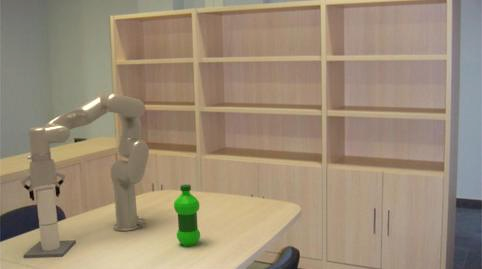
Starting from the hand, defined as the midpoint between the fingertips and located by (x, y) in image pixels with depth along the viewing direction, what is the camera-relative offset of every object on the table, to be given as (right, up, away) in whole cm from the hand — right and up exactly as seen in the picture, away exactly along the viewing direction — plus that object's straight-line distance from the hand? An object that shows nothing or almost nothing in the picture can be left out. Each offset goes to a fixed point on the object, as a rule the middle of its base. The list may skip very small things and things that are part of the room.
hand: (45, 198), depth 220 cm
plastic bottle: (+59, -20, +3) cm, 62 cm away
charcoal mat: (+1, -22, +3) cm, 22 cm away
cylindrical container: (+1, -21, +3) cm, 21 cm away
